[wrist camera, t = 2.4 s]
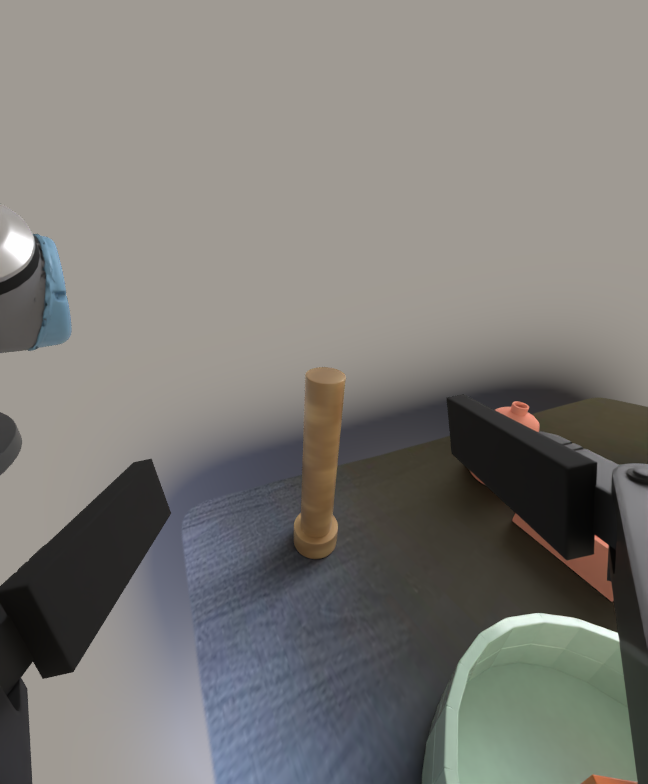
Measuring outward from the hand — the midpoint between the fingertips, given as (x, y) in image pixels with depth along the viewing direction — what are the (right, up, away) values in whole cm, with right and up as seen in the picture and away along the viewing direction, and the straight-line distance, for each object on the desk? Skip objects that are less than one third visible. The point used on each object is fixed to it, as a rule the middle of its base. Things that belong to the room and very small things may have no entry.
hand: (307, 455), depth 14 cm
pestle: (0, -11, +16) cm, 20 cm away
